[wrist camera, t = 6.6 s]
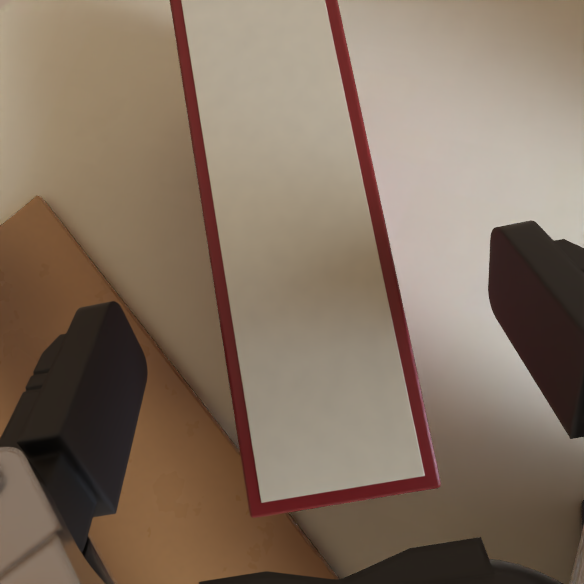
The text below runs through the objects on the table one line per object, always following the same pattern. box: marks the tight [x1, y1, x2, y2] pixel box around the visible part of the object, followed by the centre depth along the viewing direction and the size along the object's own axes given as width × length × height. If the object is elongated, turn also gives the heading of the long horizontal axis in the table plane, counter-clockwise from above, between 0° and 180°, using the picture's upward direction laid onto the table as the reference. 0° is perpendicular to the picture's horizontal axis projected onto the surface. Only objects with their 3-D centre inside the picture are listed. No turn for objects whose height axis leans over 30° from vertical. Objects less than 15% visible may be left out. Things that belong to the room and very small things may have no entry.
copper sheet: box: [0, 196, 339, 584], centre depth 19 cm, size 12×20×1 cm, turn 40°
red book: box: [170, 0, 441, 518], centre depth 16 cm, size 14×4×8 cm, turn 10°
